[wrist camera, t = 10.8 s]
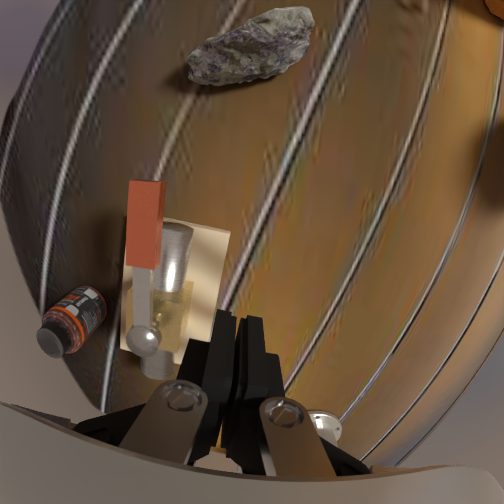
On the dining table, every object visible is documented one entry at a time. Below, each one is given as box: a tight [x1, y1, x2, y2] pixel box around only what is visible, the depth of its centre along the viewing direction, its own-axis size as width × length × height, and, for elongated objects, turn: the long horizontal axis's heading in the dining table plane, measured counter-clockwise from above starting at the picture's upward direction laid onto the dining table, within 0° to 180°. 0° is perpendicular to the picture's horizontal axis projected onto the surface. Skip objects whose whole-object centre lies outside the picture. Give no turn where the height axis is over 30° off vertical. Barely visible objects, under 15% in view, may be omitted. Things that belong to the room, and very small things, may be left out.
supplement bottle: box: [37, 286, 107, 358], centre depth 32 cm, size 6×6×11 cm
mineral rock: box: [186, 6, 315, 86], centre depth 25 cm, size 13×11×10 cm
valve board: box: [120, 217, 231, 364], centre depth 36 cm, size 19×12×2 cm, turn 167°
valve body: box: [125, 221, 194, 380], centre depth 31 cm, size 19×6×8 cm, turn 167°
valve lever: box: [126, 179, 166, 357], centre depth 25 cm, size 16×3×2 cm, turn 172°
